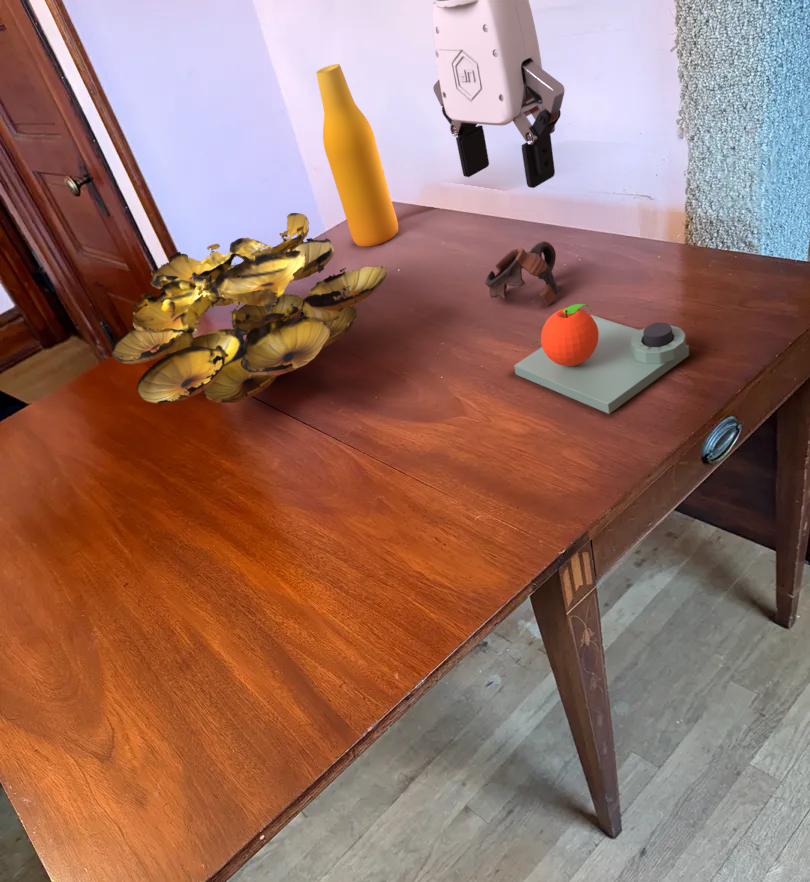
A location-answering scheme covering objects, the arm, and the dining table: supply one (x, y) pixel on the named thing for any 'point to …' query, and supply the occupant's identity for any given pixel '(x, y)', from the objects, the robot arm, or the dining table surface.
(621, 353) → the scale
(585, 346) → the clementine
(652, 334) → the tare button
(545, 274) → the broken mug
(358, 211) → the beer bottle
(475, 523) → the dining table surface
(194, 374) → the mushroom
